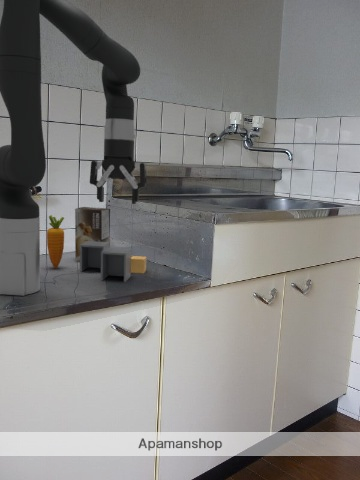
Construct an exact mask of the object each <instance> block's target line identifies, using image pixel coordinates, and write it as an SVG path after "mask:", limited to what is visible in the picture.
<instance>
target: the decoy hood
mask: <svg viewBox="0 0 360 480" xmlns="http://www.w3.org/2000/svg"><path fill="white" fill-rule="evenodd" d="M106 248H109V242H95V241H86V242H84V243H83V244H81V245H80V261H79V272H80V273H82V272H84V271H85V270H86V269H88V268H94V269H95V268H97V269H98V268H99V269H101V252H102V251H103V250H105V249H106Z"/></svg>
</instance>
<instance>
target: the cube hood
mask: <svg viewBox="0 0 360 480" xmlns="http://www.w3.org/2000/svg"><path fill="white" fill-rule="evenodd" d="M131 257H132V248H119V247H110V248H106V249H105V250H103V251H102V252H101V268H100V281H103V280H105V279H106V278H107V277H108V276H112V277H113V276H114V277H123V283H126V282H127V281H128V280H129V279H130V278H131V276H132V273H131Z"/></svg>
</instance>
